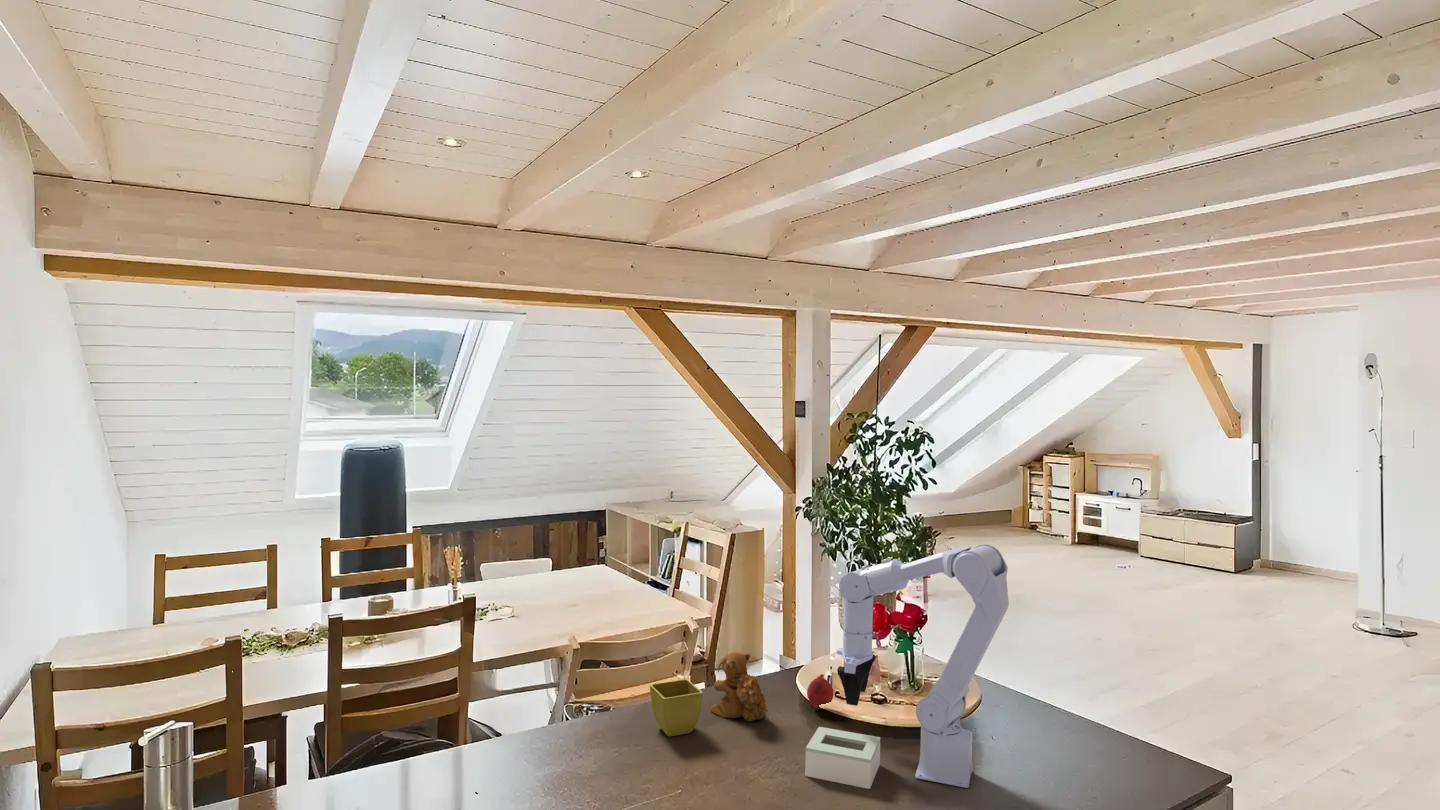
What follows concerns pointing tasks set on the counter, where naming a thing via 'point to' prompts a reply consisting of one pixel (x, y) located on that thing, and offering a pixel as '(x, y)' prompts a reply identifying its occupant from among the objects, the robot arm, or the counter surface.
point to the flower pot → (676, 706)
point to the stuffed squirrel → (739, 690)
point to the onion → (819, 691)
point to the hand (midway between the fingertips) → (856, 697)
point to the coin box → (843, 757)
